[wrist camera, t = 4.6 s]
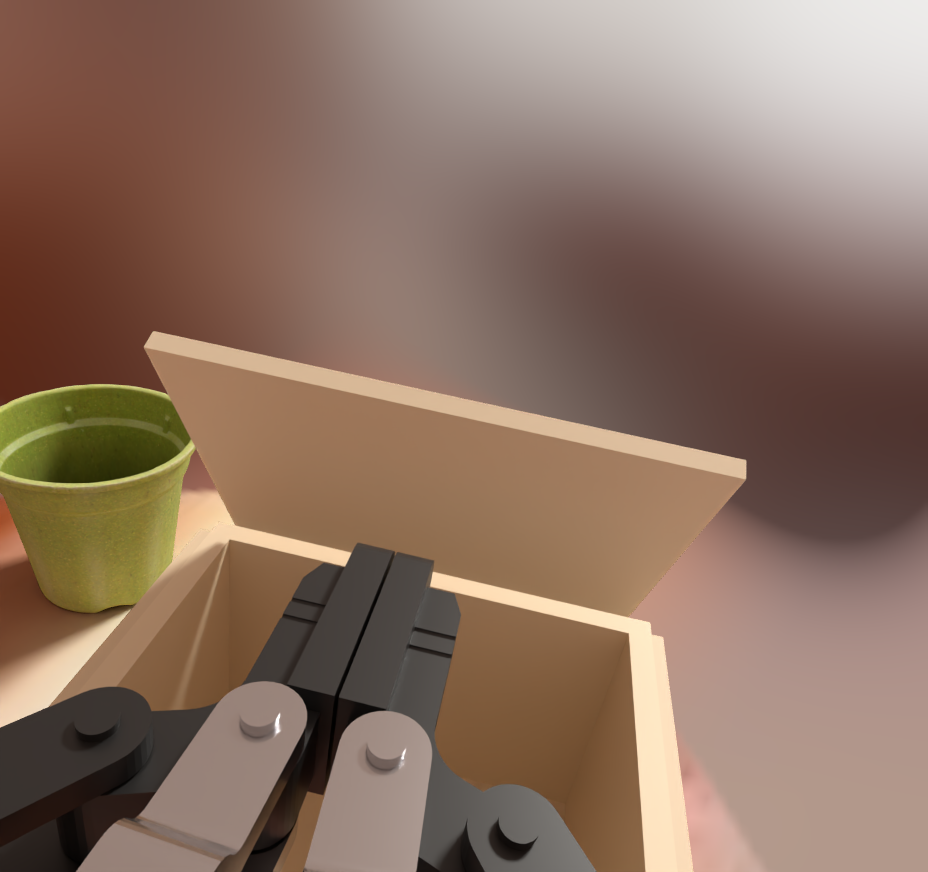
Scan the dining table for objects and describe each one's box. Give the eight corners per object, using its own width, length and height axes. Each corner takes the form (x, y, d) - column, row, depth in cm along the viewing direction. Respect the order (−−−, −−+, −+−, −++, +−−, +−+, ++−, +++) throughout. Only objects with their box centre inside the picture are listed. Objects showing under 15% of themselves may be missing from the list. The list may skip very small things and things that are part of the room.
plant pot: (131, 666, 32) (117, 509, 28) (-50, 608, 33) (-89, 449, 29) (236, 547, 40) (237, 412, 36) (87, 504, 41) (72, 368, 37)
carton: (3, 1052, 20) (-67, 842, 15) (210, 705, 31) (208, 519, 26) (592, 1223, 19) (717, 1054, 14) (591, 800, 30) (661, 625, 25)
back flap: (235, 525, 25) (143, 347, 16) (241, 513, 25) (153, 330, 17) (627, 617, 24) (746, 479, 16) (629, 603, 24) (746, 460, 16)
